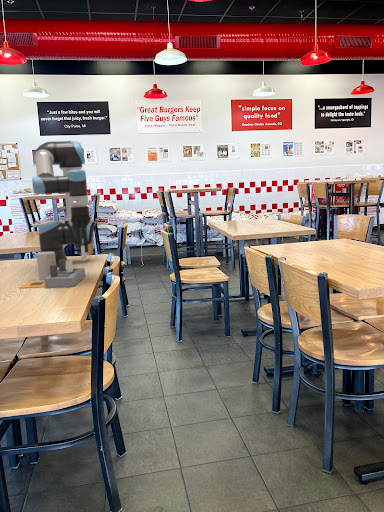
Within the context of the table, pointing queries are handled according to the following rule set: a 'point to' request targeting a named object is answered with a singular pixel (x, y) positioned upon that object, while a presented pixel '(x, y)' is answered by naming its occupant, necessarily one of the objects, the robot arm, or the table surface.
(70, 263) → the toggle
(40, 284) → the pad
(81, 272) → the grey switch box
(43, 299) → the table surface
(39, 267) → the white closed cylinder
